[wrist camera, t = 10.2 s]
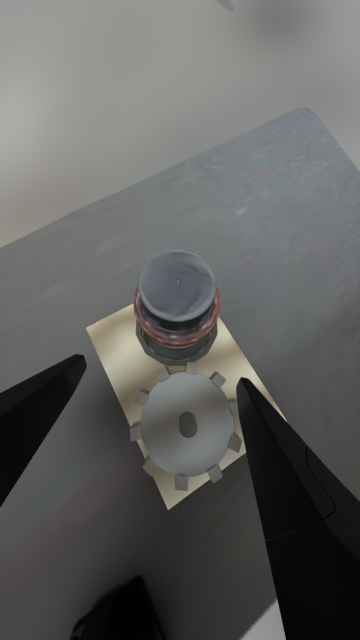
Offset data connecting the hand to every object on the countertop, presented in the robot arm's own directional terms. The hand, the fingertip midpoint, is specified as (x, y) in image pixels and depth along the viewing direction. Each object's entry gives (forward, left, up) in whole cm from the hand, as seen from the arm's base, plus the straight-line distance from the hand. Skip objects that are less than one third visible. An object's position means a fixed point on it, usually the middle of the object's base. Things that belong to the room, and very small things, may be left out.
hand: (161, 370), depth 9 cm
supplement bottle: (+3, -3, -9) cm, 10 cm away
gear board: (-1, -1, -10) cm, 10 cm away
